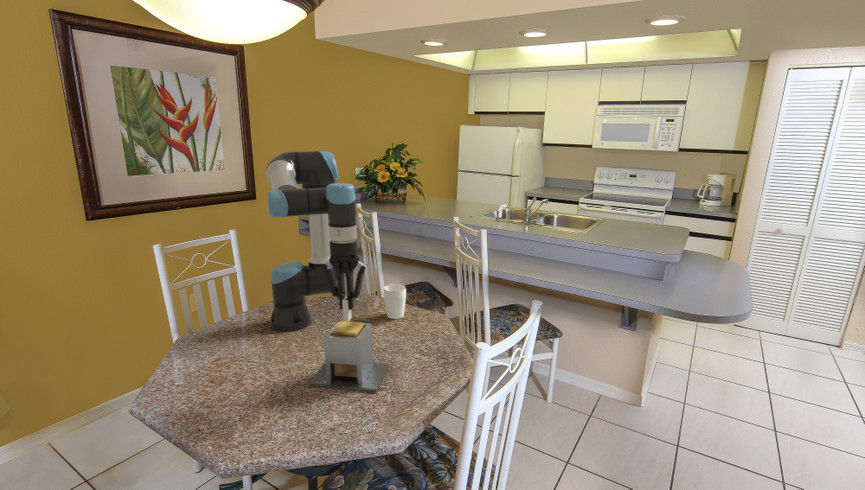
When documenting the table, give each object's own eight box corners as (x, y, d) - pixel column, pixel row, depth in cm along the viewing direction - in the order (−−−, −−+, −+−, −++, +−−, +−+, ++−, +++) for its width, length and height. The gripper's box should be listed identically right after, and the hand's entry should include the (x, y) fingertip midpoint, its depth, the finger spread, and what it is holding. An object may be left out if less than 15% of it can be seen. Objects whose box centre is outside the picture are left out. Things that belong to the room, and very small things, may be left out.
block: (335, 375, 125) (332, 331, 121) (343, 363, 131) (341, 321, 128) (357, 377, 123) (355, 332, 120) (365, 365, 130) (363, 322, 127)
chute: (309, 386, 123) (305, 338, 119) (328, 362, 136) (325, 318, 133) (376, 392, 120) (374, 343, 116) (389, 367, 133) (388, 322, 129)
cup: (403, 321, 166) (402, 292, 164) (381, 319, 168) (380, 290, 165) (409, 312, 175) (408, 284, 172) (388, 310, 177) (387, 283, 174)
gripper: (315, 242, 115) (320, 323, 121) (361, 244, 113) (365, 326, 119) (326, 236, 123) (331, 312, 128) (370, 237, 120) (373, 315, 126)
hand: (347, 319), depth 124 cm, fingers closed
